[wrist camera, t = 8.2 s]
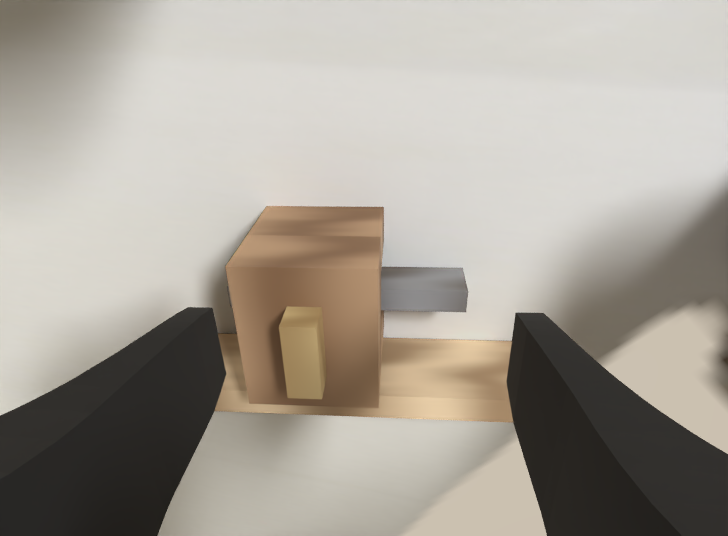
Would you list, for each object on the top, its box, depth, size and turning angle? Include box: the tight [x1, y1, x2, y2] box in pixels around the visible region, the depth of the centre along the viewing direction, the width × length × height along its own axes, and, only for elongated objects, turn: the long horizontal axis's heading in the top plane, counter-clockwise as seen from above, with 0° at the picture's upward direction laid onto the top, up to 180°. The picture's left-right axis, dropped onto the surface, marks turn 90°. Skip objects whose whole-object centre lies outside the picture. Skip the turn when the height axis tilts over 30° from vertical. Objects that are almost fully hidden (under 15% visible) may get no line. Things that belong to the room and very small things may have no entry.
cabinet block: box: [225, 206, 384, 408], centre depth 19 cm, size 5×6×7 cm
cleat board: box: [215, 267, 513, 422], centre depth 21 cm, size 18×5×4 cm, turn 91°
